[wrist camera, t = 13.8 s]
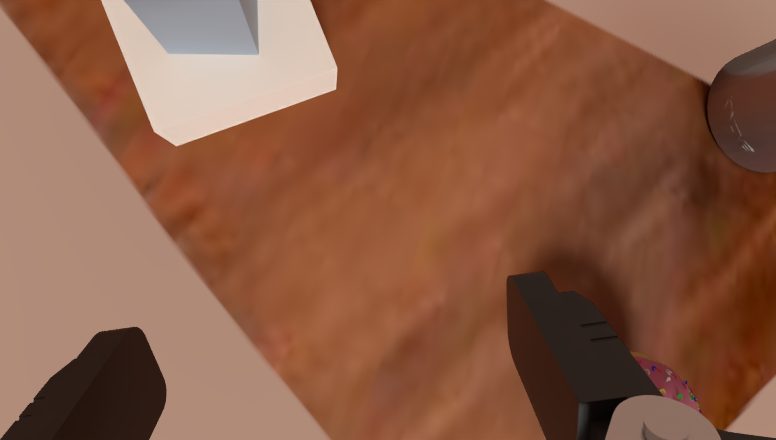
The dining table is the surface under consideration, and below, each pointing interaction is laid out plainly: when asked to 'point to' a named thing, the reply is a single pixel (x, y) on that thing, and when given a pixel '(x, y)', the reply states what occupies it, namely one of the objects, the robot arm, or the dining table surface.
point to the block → (201, 25)
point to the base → (226, 71)
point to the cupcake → (667, 381)
